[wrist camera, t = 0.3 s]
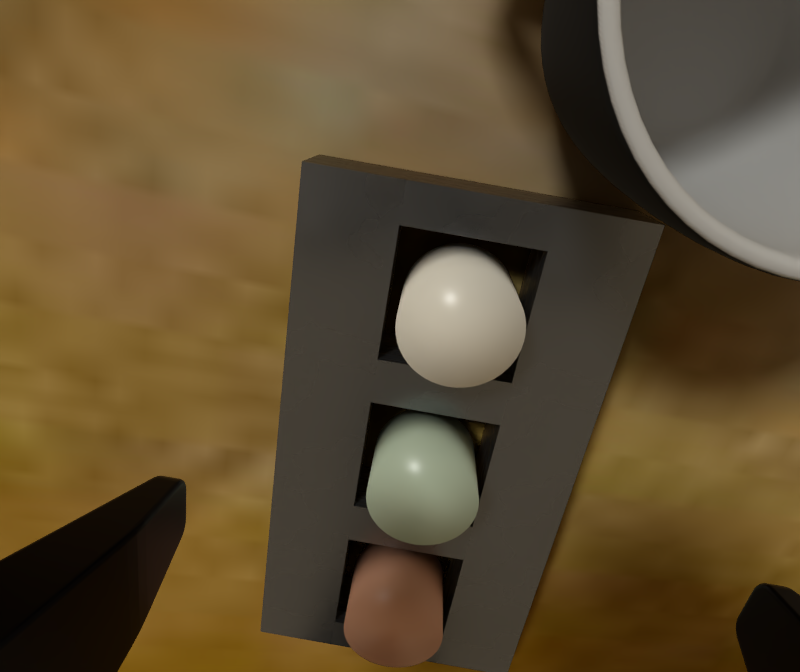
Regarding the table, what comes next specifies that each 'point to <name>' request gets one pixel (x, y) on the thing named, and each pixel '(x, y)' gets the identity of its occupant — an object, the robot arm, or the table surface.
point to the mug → (689, 114)
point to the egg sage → (423, 478)
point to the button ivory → (459, 316)
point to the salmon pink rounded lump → (395, 606)
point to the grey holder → (440, 392)
